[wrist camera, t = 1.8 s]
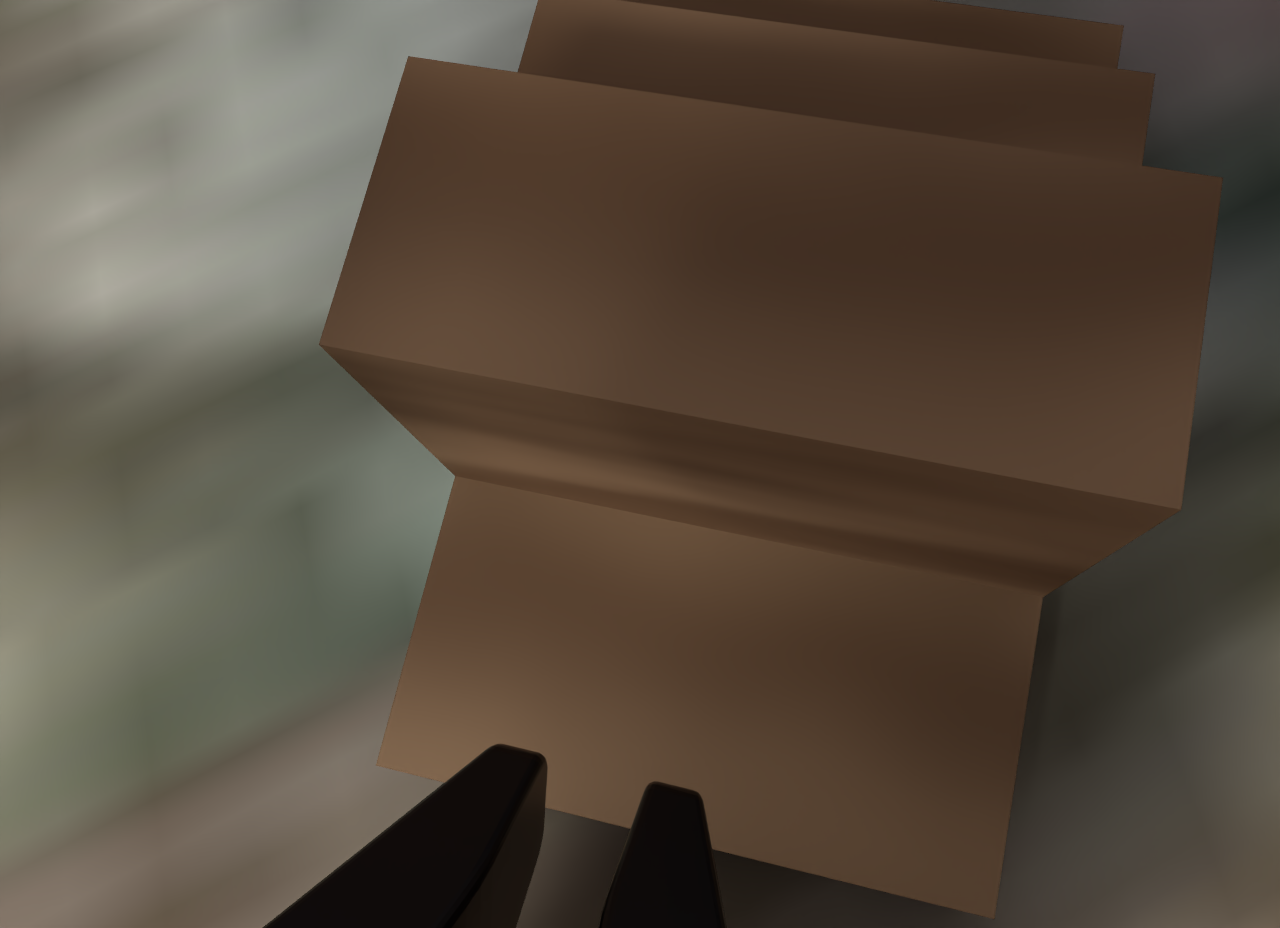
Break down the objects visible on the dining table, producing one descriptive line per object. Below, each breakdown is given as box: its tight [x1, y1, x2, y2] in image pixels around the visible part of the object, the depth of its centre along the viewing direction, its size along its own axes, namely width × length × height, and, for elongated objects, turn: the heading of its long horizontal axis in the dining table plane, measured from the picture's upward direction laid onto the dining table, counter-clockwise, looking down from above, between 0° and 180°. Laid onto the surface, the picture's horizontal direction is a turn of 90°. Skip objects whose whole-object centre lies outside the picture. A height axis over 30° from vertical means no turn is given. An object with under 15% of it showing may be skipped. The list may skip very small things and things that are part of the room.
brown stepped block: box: [319, 0, 1223, 919], centre depth 18 cm, size 16×10×9 cm, turn 167°
